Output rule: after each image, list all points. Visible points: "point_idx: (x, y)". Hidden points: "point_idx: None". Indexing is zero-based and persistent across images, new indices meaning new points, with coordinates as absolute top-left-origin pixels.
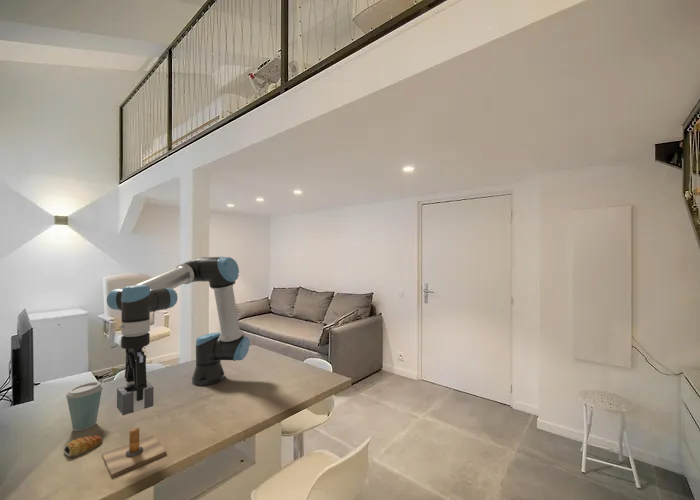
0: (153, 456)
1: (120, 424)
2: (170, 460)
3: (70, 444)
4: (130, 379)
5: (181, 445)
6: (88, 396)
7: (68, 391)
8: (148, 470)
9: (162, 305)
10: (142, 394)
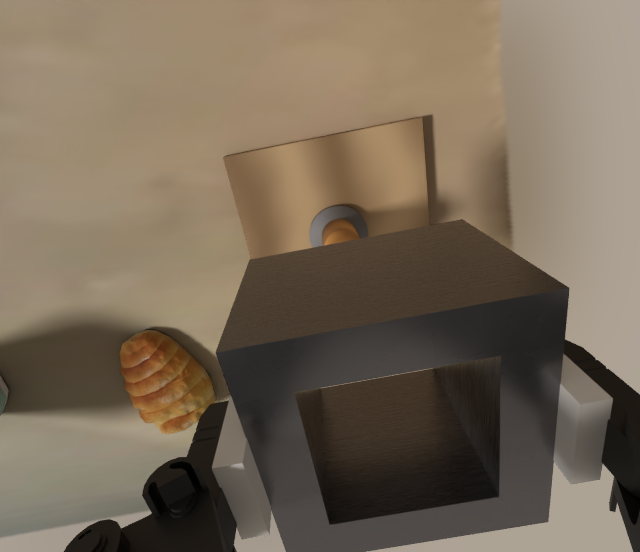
0: (423, 170)
1: (6, 275)
2: (476, 107)
3: (183, 424)
4: (228, 542)
5: (389, 41)
6: None
7: None
8: (479, 189)
9: None
10: (613, 377)
